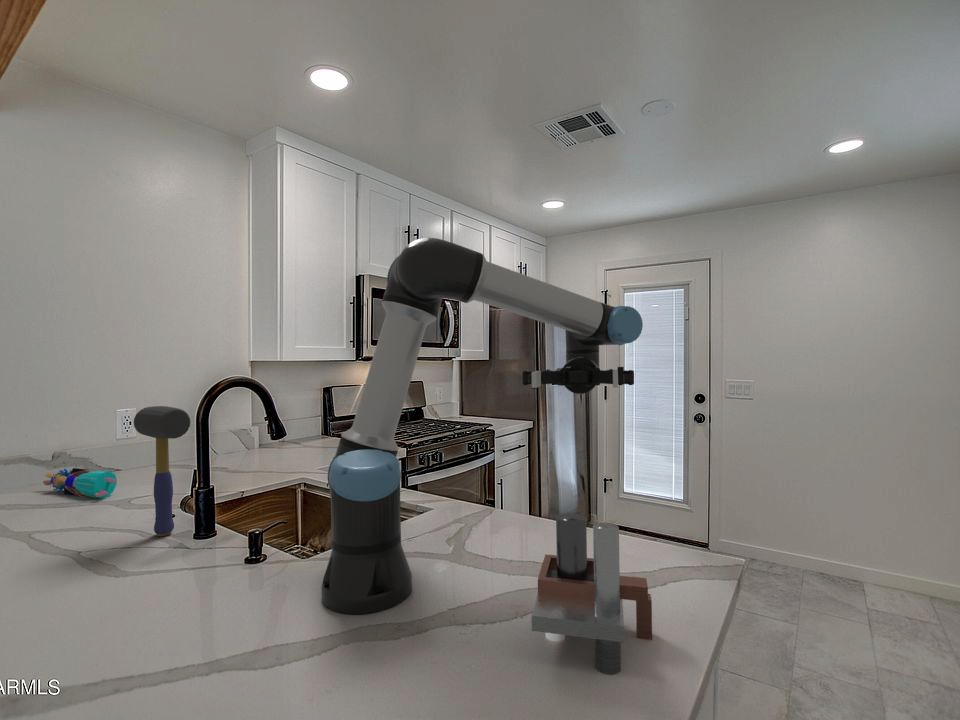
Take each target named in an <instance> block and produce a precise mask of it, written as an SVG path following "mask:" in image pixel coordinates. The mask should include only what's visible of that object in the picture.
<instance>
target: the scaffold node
mask: <svg viewBox="0 0 960 720" xmlns="http://www.w3.org/2000/svg"><path fill="white" fill-rule="evenodd" d="M619 528H620V527H619V526H618V525H617V524H615V523H611V522H596V523H595V524H593V526H592V532H593V533H592V534H593V536H592V538H593V539H592V540H593V543H592V544H593V549H592V550H593V557H587V581H581V580H571V579H560V578H557V554H544V558H543V561H542V565H541V568H540V570H539V574H538V577H537V596H536V599H535V602H534V607H533V609H532V613H531V631H532V632H537V633H546V634H552V635H553V634H554V635H561V636H571V637H578V638H585V639H594V661H595V663H594V664H595V665H594V666H595V668H596V670H598V671H599V672H600V673H602V674H605V675H617V674H619V673H620V672H621V670H622V645H621V643H625V623H624V621H625V618H624V606H623V605H624V604H623V602H624V601H623V600H625V601H635V615H636V616H635V617H636V618H635V620H636V621H635V623H636V624H635V625H636V627H635V629H636V638H637V639H645V640H653V616H652V615H653V610H652V608H653V606H652V603H653V602H652V601H653V600H652V596H651V593H649V585H648V581H647V578H646V577H638V576H637V577H636V576H629V575H627V576H626V575H620V573H621V572H620V571H621V570H620V568H621V567H620V529H619Z"/></svg>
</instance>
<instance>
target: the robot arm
mask: <svg viewBox="0 0 960 720" xmlns="http://www.w3.org/2000/svg"><path fill="white" fill-rule="evenodd" d="M386 277H387V279H386V283H387V284H386V287H385V291H384V294H383V297H382V301H381V303H380V304H381V306H382V307H383V310H384V311H385V317H384V320H383V323H382V326H381V329H380V334H379V336H378V340H377V344H376V347H375V350H374V353H373V355H372V356H373V357H372V359H371V362H370V363H371V364H370V366H369V370H368V373H367V377H366V378H365V384H364V387H363V390H362V393H361V395H360V396H361V397H360V400H359V403H358V406H357V409H356V413H355V416H354V420H353V422H352V426H351V427H350V429H347V430H346V431H344V432H342V433H341V435H340V439H339V443H338V446H337V449H336V452H335V455H334V456H333V458H332V460H331V462H330V463H329V466H328V470H327V485H328V488H329V494H330V495H329V496H330V497H329V498H330V519H331V520H330V527H331V553H330V555H329V560H328V563H327V565H326V569H325V572H324V575H323V579H322V582H321V602H322V604H323V605H324V606H325V607H326V608H328V609H329V610H330V611H334V612H337V613H341V614H349V615H353V614H354V615H359V614H360V615H362V614H369V613H376V612H379V611H383V610H387V609H389V608H392V607H395V606H396V605H398V604H400V603H402V602H403V601H405V600H406V599H407V598H408V597H409V595H410V594H411V593H412V590H413V575H412V571H411V568H410V566H409V562H408V560H407V557H406V553H405V552H404V551H405V550H404V548H403V546H402V523H401V519H402V518H401V479H402V472H401V468H400V463H399V460H398V458H397V456H398V452H399V446H398V444H397V442H396V441H395V435H396V432H397V428H398V425H399V422H400V419H401V415H402V413H403V412H402V411H403V409H404V405H405V401H406V399H407V396H408V395H407V394H408V391H409V387H410V384H411V381H412V378H413V374H414V371H415V367H416V363H417V361H418V357H419V354H420V349H421V347H422V343H423V339H424V337H425V333H426V329H427V326H428V325H430V324H432V323H434V322H436V321H437V317H438V314H439V311H440V308H441V305H442V301H443V299H448V300H455V301H458V302H461V303H463V304H464V303H465V304H468V303H470V302H472V301H476V302H479V303H483V304H485V305H489V306H491V307H495V308H498V309H500V310H504V311H507V312H510V313H513V314H516V315H519V316H522V317H525V318H528V319H531V320H535V321H538V322H541V323H544V324H547V325H550V326H553V327H556V328H559V329H563V330H565V331H564V332H565V363H564V365H563V367H557V368H556V370H552V369H548V368H547V369H545V370H544V369H543V370H529V371H527V370H524V371H522V372H521V374H522V385H523V386H529V385H531V386H530V387H531V389H533V390H536V389H538V388H539V387H542V385H552V384H553V385H554V384H556V386H561V387H562V386H564V387H565V388H566V389H567V390H568V391H569V392H571V393H573V394H577V395H580V396H581V395H584V394H587V393H589V392H591V391H592V390H593V389H594V388H595V387H596V386H600V385H603V384H604V385H605V384H606V385H612V388H614V389H615V388H616V389H618V388H619V386H624V385H629V386H633V385H635V370H632V369H628V370H624V369H625V368H624V367H625V366H617V369H613V368H609V369H605V370H603V369H600V346H614V345H615V346H616V345H617V346H623V345H626V344H631V343H633V342H635V341H637V340H638V338H640V336H641V333H642V331H643V326H644V325H643V324H644V323H643V319H642V316H641V314H640V313H639V311H638V310H637V309H636V308H635V307H633V306H628V305H624V306H623V305H619V306H613V305H610V304H607V303H605V302H602V301H599V300H596V299H595V300H594V299H592V298H590V297H587V296H584V295H581V294H578V293H575V292H573V291H570V290H567V289H564V288H562V287H558V286H556V285H553V284H551V283H548V282H545V281H542V280H540V279H537V278H534V277H531V276H529V275H526V274H523V273H520V272H517V271H515V270H511V269H510V268H506V267H504V266H501V265H499V264H495V263H494V262H493V263H492V262H490V261H488V260H487V259H486V257H485V254H484V253H481V252H479V251H476V250H473V249H470V248H468V247H465V246H462V245H459V244H457V243H454V242H451V241H448V240H444V239H440V238H435V237H423V238H417V239H415V240H413V241H411V242H410V243H409V244H407V245H406V246H405V247H404V248H403V250H402V251H401V253H400V254H399V255H398V256H397V257H395V258H394V260H393V261H392V263H391V265H390V266H389V269H388V271H387V276H386Z"/></svg>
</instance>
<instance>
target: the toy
mask: <svg viewBox="0 0 960 720" xmlns="http://www.w3.org/2000/svg"><path fill="white" fill-rule="evenodd" d="M44 477H45V478H48V479H49V480H48V479H47V480H43V481H42V484H43V485H44V486H49V487H50V488H51V487H52V488H53V489H52V491H56V493H60V492H63V495H69V496H74V497H82V496H88V497H91V498H94V499H99V500H100V499H106V498H108V497H109V496H110V495H112V494H113V493H114V490H115V489H116V487H117V484H118V483H117V482H118V479H117V476H116V474H115V473H114V472H112V471H107V470H103V471H102V470H96V471H92V470H90V469H88V468H79V467H78V468H77V467H76V468H75V467H72V469H70V470H69V471H68V469H67V468H64V469H63V470H61V469H59V470H58V472H57V473H53V472H47V473H46V474H45V476H44Z"/></svg>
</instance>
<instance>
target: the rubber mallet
mask: <svg viewBox="0 0 960 720" xmlns="http://www.w3.org/2000/svg"><path fill="white" fill-rule="evenodd" d="M133 426H134V428H135V431H136V432H137V433H139V434H140V435H143V436H146V437H150V438H155V475H154V479H153V480H154V481H153V499H154V500H153V501H154V504H155V505H154V507H155V509H154V510H155V511H154V512H155V521H154V526H153V531H154V533H155V534H156V536H157V537H165V536H168V535H170V534H172V532H173V530H174V528H175V523H174V520H173V496H174V484H173V477H172V473H171V471H170V457H169V451H170V450H169V439H170V440H171V439H177V438H178V439H179V438H181V437H183V436H184V435H185V434H186V433H188V431H189V430H190V429H189V428H190V427H191V417H190V415H189V413H187V412H186V411H185V410H184V409H182V408H179V407H173V406H167V405H166V406H165V405H161V406H160V405H159V406H157V405H156V406H155V405H154V406H147V407H143V408H141V409H140V410H139V411H138V412H137V413H136V414H135V416H134V418H133Z"/></svg>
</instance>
